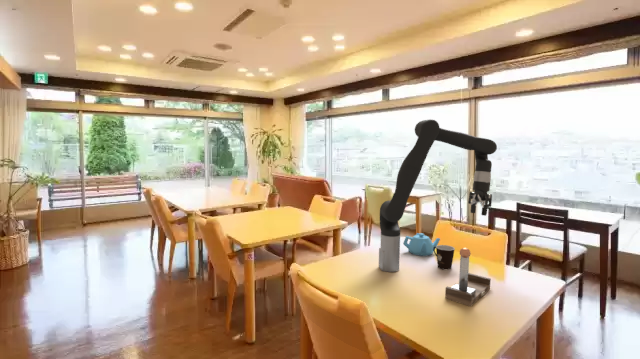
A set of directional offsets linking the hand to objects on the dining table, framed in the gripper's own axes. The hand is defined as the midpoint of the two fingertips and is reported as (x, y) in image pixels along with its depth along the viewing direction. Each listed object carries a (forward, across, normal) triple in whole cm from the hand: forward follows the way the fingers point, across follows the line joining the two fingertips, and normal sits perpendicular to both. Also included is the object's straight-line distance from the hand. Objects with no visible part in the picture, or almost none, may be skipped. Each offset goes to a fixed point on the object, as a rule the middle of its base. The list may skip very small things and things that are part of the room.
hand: (478, 214), depth 172 cm
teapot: (+26, -28, -13) cm, 41 cm away
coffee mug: (+28, -6, -12) cm, 31 cm away
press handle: (+30, +28, -23) cm, 47 cm away
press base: (+31, +24, -18) cm, 43 cm away
